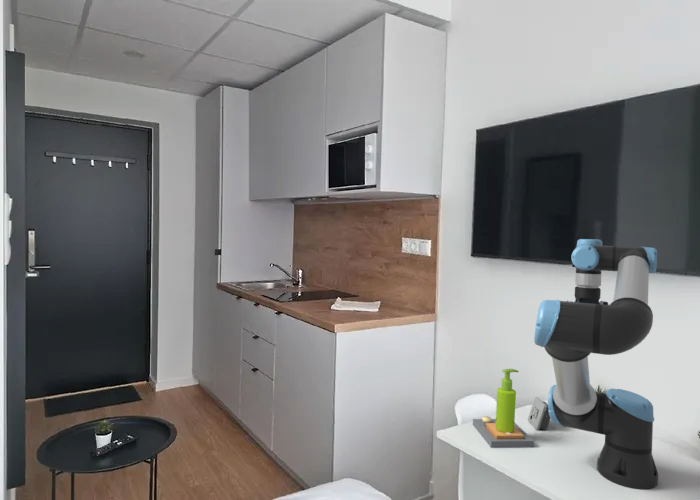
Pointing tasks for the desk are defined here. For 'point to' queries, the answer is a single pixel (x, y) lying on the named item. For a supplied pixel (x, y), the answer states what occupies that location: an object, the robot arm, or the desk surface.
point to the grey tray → (495, 443)
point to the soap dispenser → (506, 404)
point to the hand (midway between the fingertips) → (584, 351)
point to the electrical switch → (539, 414)
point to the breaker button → (503, 435)
